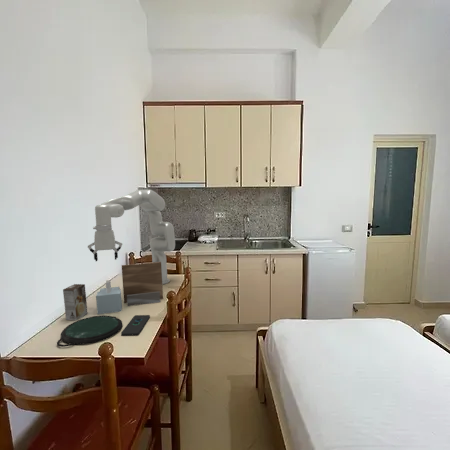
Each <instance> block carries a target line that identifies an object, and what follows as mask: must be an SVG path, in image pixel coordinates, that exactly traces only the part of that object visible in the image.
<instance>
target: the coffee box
mask: <svg viewBox="0 0 450 450" xmlns="http://www.w3.org/2000/svg"><path fill="white" fill-rule="evenodd" d="M62 293H63V303H64V310H65V312H64V313H65V320H66V321H78V320H80V319H81V318H83V317H84V316H86V315H87V314H88V305H87V303H88V302H87V293H86V284H83V283H80V284H79V283H78V284H77V283H76V284H75V283H74V284H71V285H70V286H67V287H66V288H64V289H62Z"/></svg>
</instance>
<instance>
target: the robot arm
mask: <svg viewBox="0 0 450 450" xmlns="http://www.w3.org/2000/svg"><path fill="white" fill-rule="evenodd" d="M138 206H140V208H141V209H142V210H143V211H145V213H146V214H147V215H148V221H149V228H150V233H151V235H152V236H155V237H152V238H151V239H150V242H149V248H150V251H151V258H152V259H151V260H152V261H151V263H153V262H161V269H162V285H166V284H168V282H171V280H170V278H168V267H167V255H166V253H167V252H169V253H172V252H173V251H174V250H175V248H176V236H175V229H174V225H173V224H172V222H169V221H163V217H162V216H163V215H162V213H161V212H162V211H163V210H165V209H166V202H165V199H164V198H163V197H162V196H161V195H159V194H158V193H157V192H156V191H155V190H153V189H138V190H134V191H133V192H129V193H128V194H126V195H124V196H120V197H116V198H113V199H110V200H106V201H105V202H104V201H103V203H101V204H98V205H96V206H95V207H94V212H95V214H94V215H95V226H93V227H92V229H93V230H95V231H94V236H93V237H94V240H93V241H94V242H92V243H90V244H88V245H87V248H88V250H89V251H90V252H91V253H92V254H93V260H95V262H98V261H99V259H98V257H99V256H98V251H109V250H110V251H112V250H113V251H114V252H113V253H114V260H115V261H116V260H117V259H118V258H119V256H118V253H119V252H120V250H121V248H122V246H123V243H122V242H119V241H118V240H116V238H115V237H116V236H115V232H114V230H113V227H112V225H113V224H112V218H115V219H116V218H117V219H118V218H121V217H122V216H123V215H124V213H125V211H128V210H132V209H135V208H136V207H138ZM163 236H164V237H163ZM116 245H118V247H116ZM93 246H94V249H93ZM165 252H166V253H165Z"/></svg>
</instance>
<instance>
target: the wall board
mask: <svg viewBox="0 0 450 450" xmlns="http://www.w3.org/2000/svg"><path fill="white" fill-rule="evenodd" d="M121 277H122V291H123V292H122V293H123V294H122V295H123V303H124V304H127V307H131V306H139V305H150V304H157V303H161V300H163V299H164V294H163V293H164V292H163V284H162V269H161V262H153V263H152V262H143V263H133V264H121Z"/></svg>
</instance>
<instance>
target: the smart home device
mask: <svg viewBox="0 0 450 450" xmlns="http://www.w3.org/2000/svg"><path fill="white" fill-rule="evenodd" d="M150 319H151V315H150V314H138V315H137V314H135V315H134V316H133V317H132V318H131V320H130V321H129V322H128V324H127V325H126V326H125V327H124V328H123V330H122V331H121V332H120V334H121V337H128V336H129V337H134V336H135V337H138V336H139V335H140V334H141V333H142V331H143V329H144V328H145V327H146V325H147V323H148V322H149V320H150Z"/></svg>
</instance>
